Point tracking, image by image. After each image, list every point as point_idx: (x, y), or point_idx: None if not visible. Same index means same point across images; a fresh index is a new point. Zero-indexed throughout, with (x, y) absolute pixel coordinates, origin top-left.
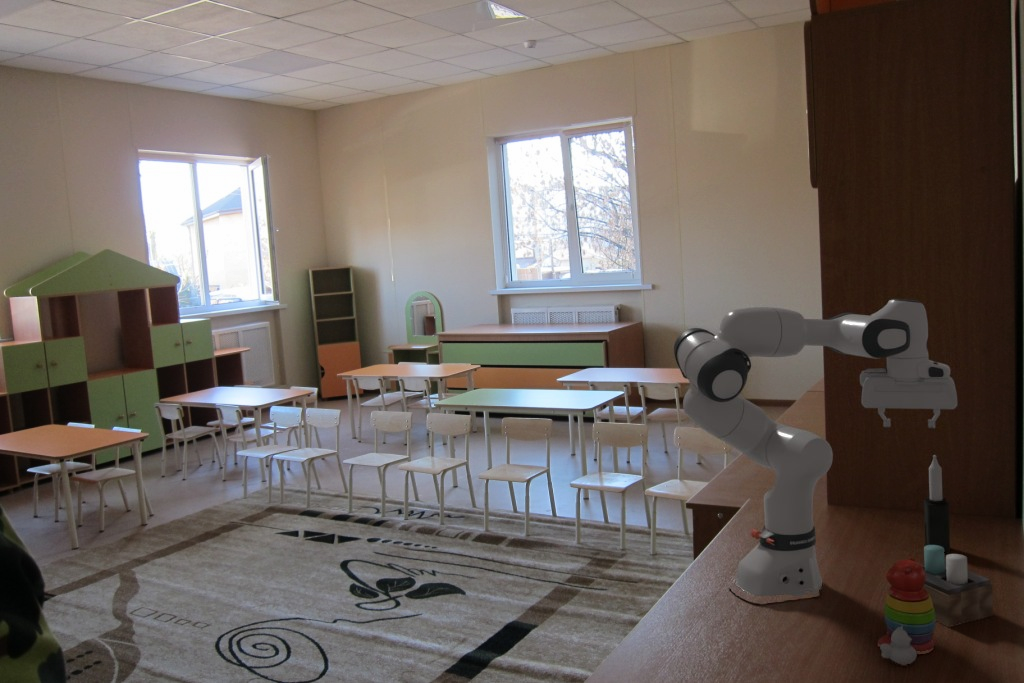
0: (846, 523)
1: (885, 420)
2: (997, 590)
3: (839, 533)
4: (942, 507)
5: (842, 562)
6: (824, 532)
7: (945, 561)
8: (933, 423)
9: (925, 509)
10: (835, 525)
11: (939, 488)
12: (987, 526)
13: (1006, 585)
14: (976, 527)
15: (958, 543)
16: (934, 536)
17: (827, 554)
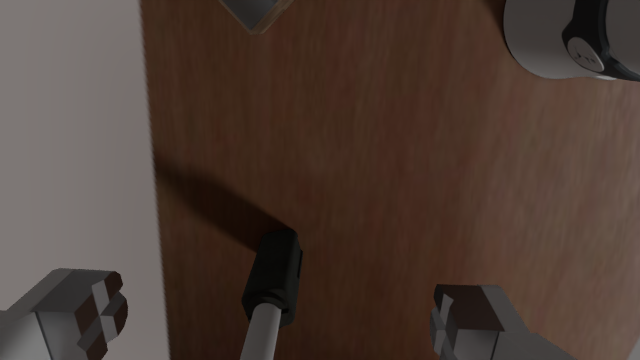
0: None
1: (504, 326)
2: (174, 73)
3: None
4: (255, 287)
5: (454, 153)
6: None
7: (245, 22)
8: (43, 292)
9: (293, 294)
10: None
11: (252, 327)
12: (209, 353)
13: (162, 101)
14: (225, 348)
15: None
16: (282, 246)
17: (481, 188)
